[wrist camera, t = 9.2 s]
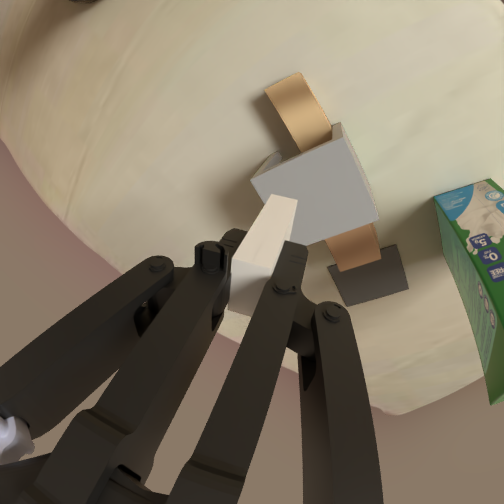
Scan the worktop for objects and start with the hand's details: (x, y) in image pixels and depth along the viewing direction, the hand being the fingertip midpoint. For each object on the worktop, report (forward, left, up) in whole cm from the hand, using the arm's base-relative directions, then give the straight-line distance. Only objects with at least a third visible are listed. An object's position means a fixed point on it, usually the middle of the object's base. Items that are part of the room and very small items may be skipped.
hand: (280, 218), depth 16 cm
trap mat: (+20, 0, -18) cm, 27 cm away
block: (+11, +1, -18) cm, 21 cm away
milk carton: (+16, +16, -18) cm, 29 cm away
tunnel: (+3, 0, -18) cm, 18 cm away
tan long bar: (0, +2, -18) cm, 18 cm away
